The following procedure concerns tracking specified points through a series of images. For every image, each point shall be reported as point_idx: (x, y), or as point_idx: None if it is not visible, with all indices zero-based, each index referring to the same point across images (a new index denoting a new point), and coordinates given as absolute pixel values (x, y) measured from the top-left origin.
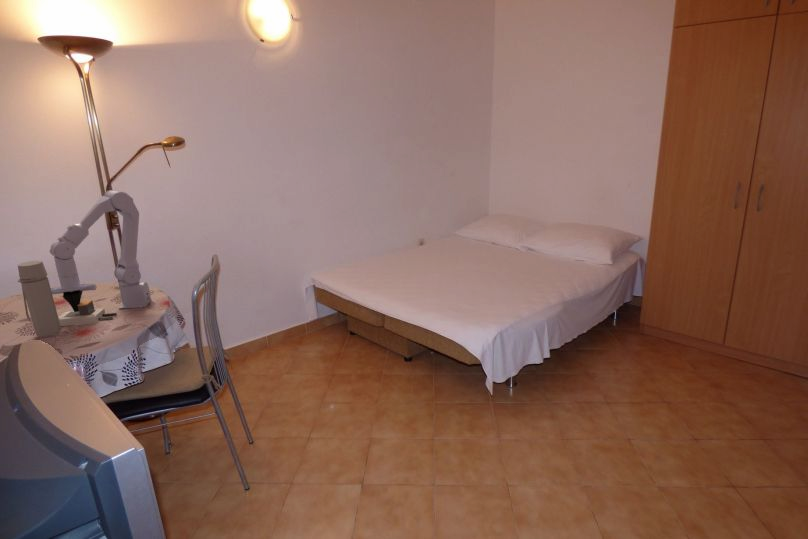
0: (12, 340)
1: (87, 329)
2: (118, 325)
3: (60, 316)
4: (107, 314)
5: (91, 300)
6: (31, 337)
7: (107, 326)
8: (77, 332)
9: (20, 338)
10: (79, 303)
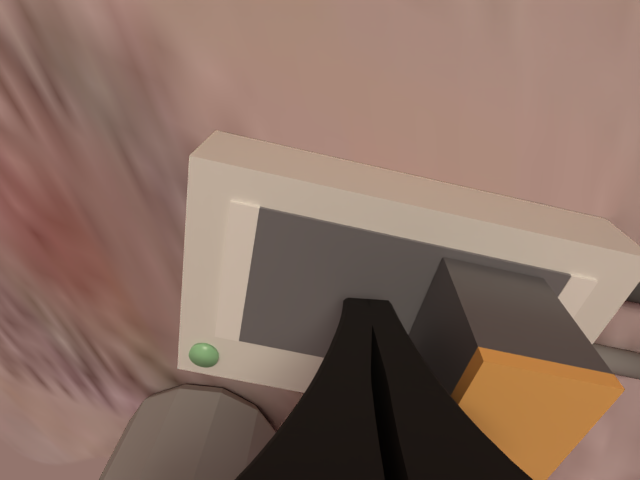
0: (14, 423)
1: None
2: (637, 473)
3: (195, 305)
4: (628, 300)
5: (608, 406)
6: (114, 428)
7: (568, 460)
8: None
9: (47, 416)
10: (414, 361)
